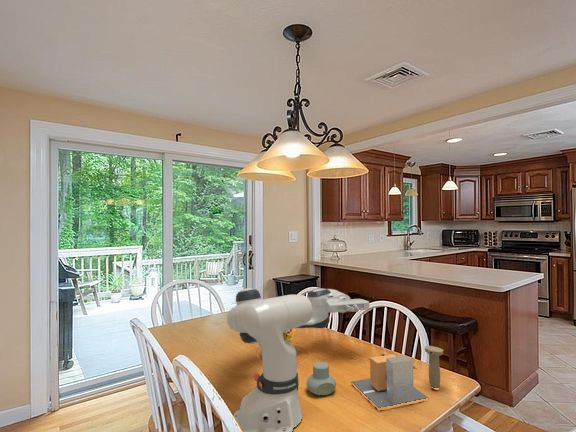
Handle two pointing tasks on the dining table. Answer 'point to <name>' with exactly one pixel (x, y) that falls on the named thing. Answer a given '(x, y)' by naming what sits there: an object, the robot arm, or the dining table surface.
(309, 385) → the air freshener
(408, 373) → the grey block with rod
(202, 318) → the dining table surface
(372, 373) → the orange block
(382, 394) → the base board
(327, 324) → the robot arm
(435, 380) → the handle
